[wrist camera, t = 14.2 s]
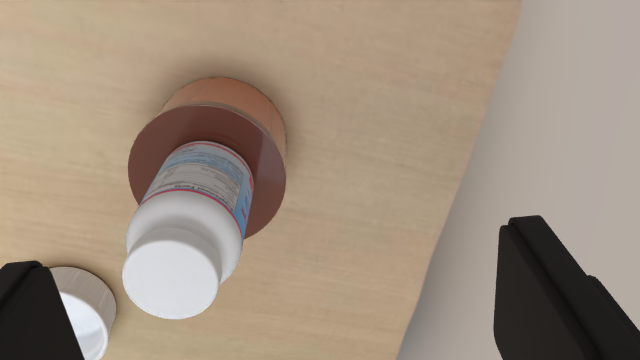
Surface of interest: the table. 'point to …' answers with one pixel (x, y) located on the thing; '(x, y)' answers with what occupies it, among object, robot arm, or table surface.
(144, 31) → the table surface
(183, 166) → the pill bottle
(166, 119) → the canister
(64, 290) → the ramekin
